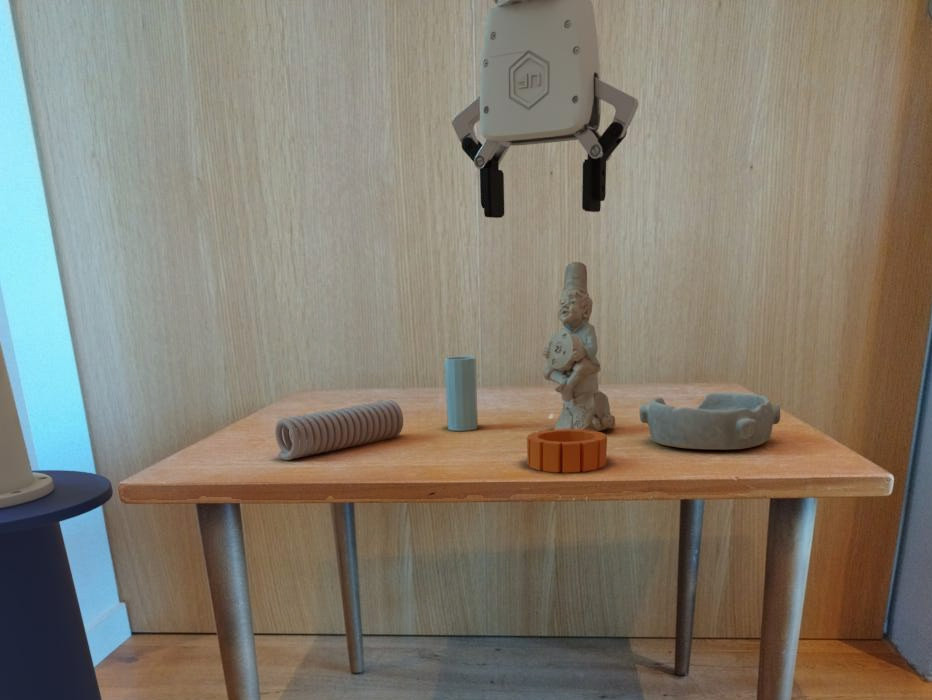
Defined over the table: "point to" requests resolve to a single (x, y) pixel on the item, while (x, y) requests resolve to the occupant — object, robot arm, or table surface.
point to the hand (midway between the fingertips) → (541, 214)
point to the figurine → (577, 358)
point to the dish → (712, 422)
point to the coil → (338, 429)
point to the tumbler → (461, 393)
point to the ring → (566, 450)
